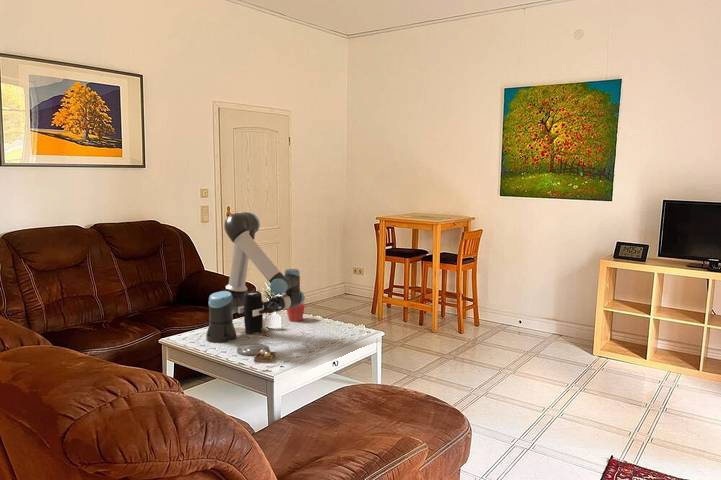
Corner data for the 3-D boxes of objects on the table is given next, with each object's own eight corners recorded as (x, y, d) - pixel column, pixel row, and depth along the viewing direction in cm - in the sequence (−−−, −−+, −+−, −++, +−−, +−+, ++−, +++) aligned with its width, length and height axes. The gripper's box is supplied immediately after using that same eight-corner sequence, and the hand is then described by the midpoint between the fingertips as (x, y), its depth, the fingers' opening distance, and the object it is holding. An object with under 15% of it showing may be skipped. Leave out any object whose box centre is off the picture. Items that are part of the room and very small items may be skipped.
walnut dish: (259, 355, 257) (258, 351, 257) (275, 356, 256) (275, 352, 256) (254, 361, 249) (254, 357, 249) (271, 362, 248) (271, 357, 248)
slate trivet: (242, 345, 272) (242, 343, 272) (272, 346, 271) (272, 344, 271) (232, 355, 258) (232, 352, 257) (264, 356, 256) (263, 354, 256)
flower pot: (297, 323, 313) (297, 306, 312) (282, 320, 319) (282, 304, 318) (308, 319, 323) (308, 303, 321) (293, 316, 328) (293, 300, 327)
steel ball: (260, 354, 256) (260, 348, 255) (267, 354, 255) (267, 348, 255) (258, 356, 253) (258, 350, 252) (265, 356, 252) (265, 350, 252)
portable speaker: (255, 328, 269) (255, 289, 267) (266, 332, 263) (266, 292, 260) (240, 332, 263) (239, 292, 261) (251, 336, 257) (250, 295, 254)
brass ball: (265, 357, 252) (264, 350, 252) (271, 357, 252) (271, 351, 252) (263, 359, 249) (263, 352, 249) (269, 359, 249) (269, 353, 249)
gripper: (295, 313, 270) (262, 323, 252) (264, 307, 283) (230, 316, 265) (295, 298, 270) (262, 307, 251) (264, 293, 282) (230, 301, 264)
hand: (245, 312), depth 258 cm, fingers closed on portable speaker, 9 cm apart
